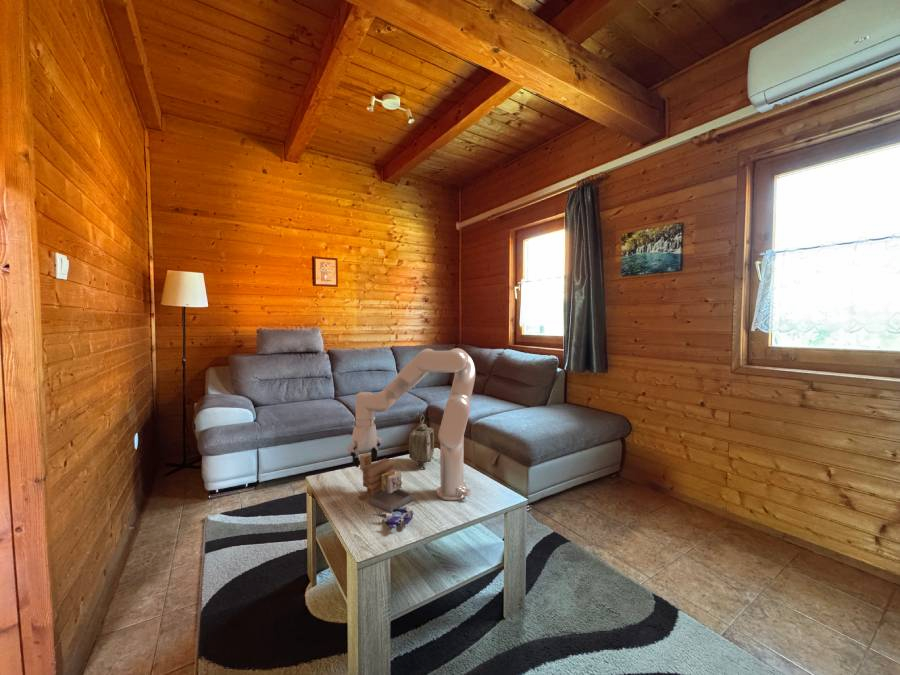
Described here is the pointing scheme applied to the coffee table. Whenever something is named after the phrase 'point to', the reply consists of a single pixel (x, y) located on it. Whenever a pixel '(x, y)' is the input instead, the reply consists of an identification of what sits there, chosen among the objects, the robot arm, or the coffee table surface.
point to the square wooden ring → (390, 482)
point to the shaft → (366, 460)
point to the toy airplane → (397, 517)
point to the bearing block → (374, 478)
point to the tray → (391, 500)
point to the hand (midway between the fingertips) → (365, 462)
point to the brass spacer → (383, 479)
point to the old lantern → (421, 443)
